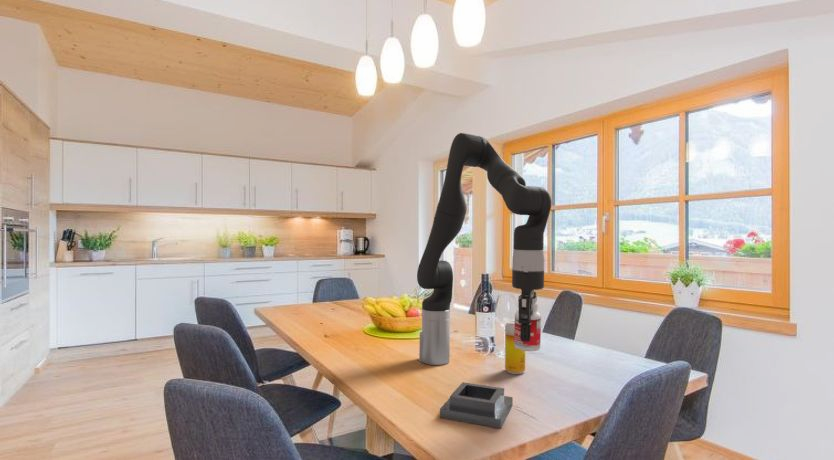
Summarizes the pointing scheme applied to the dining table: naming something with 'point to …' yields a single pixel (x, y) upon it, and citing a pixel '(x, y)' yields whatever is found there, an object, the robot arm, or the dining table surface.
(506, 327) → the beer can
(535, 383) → the dining table surface
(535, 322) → the pill bottle
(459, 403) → the block
